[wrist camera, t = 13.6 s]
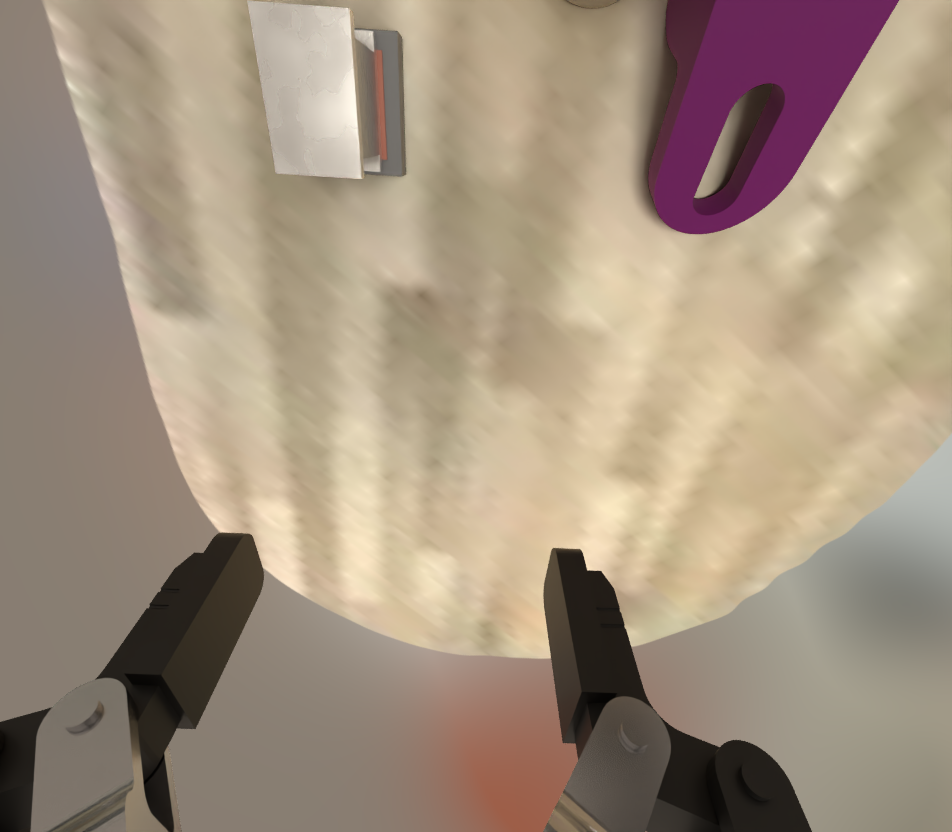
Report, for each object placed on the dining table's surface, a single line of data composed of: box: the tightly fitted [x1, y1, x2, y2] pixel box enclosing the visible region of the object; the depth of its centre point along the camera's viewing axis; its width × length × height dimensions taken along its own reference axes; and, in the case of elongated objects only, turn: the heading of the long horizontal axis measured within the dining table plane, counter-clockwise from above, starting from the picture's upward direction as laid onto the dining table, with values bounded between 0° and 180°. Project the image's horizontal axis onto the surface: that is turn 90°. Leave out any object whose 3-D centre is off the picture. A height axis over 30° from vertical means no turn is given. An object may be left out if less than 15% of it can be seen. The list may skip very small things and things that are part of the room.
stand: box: [354, 28, 406, 176], centre depth 30 cm, size 8×8×2 cm
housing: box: [247, 1, 382, 179], centre depth 27 cm, size 8×5×7 cm, turn 177°
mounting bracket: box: [648, 0, 899, 234], centre depth 29 cm, size 10×8×18 cm
